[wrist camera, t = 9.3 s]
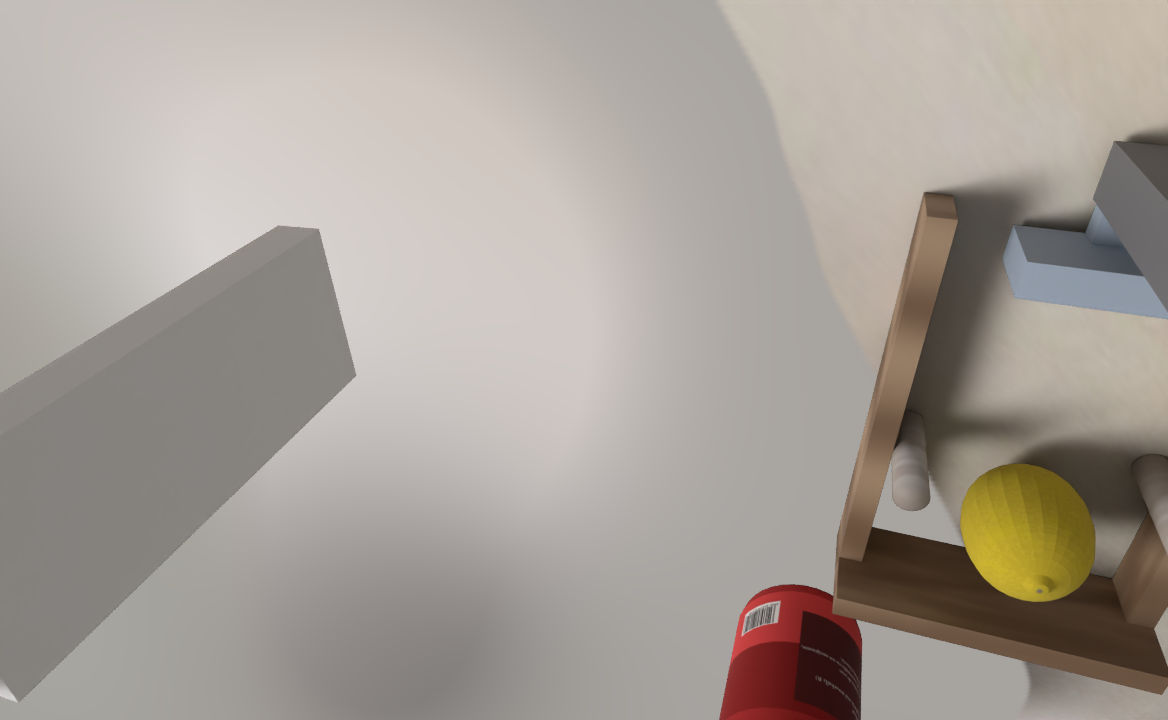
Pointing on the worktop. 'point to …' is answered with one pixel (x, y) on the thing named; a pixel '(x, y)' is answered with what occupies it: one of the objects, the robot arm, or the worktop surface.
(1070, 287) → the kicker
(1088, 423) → the worktop surface
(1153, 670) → the lane
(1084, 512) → the lemon
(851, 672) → the canned food
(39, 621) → the robot arm
